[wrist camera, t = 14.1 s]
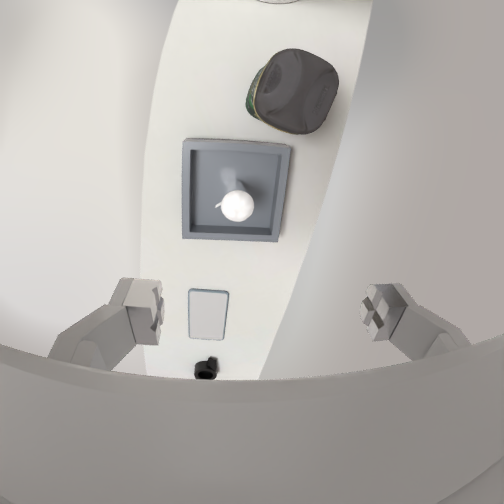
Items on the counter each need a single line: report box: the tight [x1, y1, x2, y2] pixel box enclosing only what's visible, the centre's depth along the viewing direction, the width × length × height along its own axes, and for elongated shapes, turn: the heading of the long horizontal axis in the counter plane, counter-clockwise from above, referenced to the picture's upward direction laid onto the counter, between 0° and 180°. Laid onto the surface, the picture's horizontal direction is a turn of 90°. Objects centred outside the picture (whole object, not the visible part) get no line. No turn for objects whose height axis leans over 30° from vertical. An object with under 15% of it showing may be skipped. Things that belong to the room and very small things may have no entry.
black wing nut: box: [194, 358, 217, 380], centre depth 68 cm, size 8×10×3 cm
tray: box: [182, 138, 291, 242], centre depth 44 cm, size 16×16×4 cm
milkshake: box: [215, 180, 254, 222], centre depth 41 cm, size 5×5×10 cm
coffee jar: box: [246, 49, 339, 135], centre depth 30 cm, size 10×8×19 cm
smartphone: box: [188, 289, 229, 340], centre depth 60 cm, size 8×1×15 cm
